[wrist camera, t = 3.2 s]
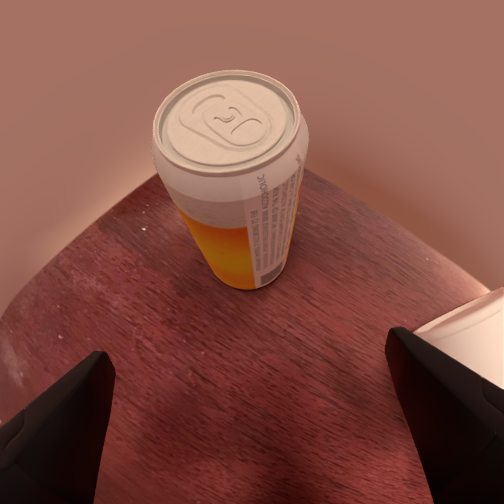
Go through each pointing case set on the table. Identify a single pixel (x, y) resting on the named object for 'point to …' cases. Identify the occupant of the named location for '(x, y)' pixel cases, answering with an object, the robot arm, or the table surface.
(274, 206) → the beer can
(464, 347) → the white smoke grenade
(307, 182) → the table surface
